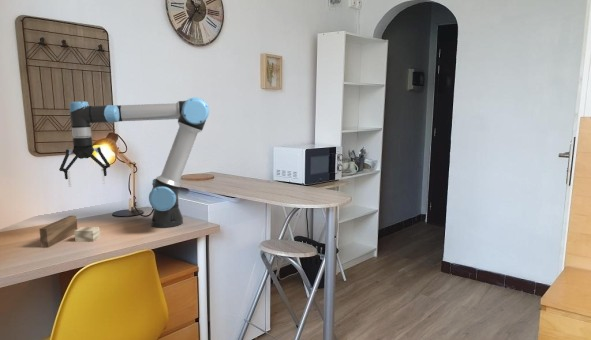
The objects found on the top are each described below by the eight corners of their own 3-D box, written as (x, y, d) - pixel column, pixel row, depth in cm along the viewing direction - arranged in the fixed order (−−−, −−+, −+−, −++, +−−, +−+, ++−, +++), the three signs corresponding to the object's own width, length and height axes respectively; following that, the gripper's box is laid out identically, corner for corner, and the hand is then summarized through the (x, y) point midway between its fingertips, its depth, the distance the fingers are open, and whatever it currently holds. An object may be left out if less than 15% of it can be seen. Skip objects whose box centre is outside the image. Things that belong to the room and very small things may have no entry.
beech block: (100, 237, 193) (99, 227, 192) (93, 242, 187) (92, 230, 186) (82, 237, 193) (81, 227, 192) (75, 242, 187) (74, 230, 186)
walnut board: (77, 232, 201) (76, 215, 200) (48, 247, 180) (46, 228, 179) (71, 232, 202) (69, 215, 201) (41, 247, 180) (39, 228, 179)
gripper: (113, 135, 197) (117, 181, 200) (51, 138, 188) (56, 186, 191) (112, 136, 190) (117, 183, 193) (48, 139, 181) (54, 189, 184)
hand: (87, 185), depth 192 cm, fingers open, 13 cm apart
